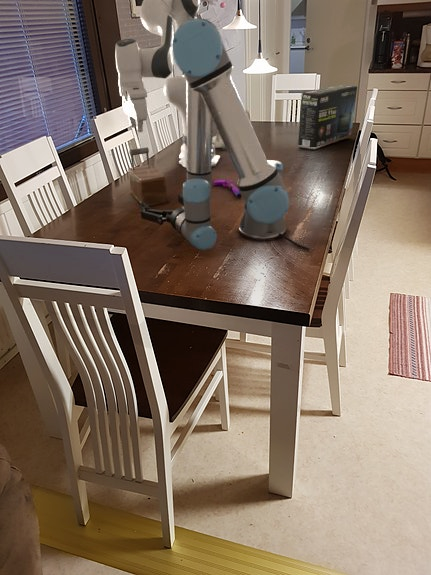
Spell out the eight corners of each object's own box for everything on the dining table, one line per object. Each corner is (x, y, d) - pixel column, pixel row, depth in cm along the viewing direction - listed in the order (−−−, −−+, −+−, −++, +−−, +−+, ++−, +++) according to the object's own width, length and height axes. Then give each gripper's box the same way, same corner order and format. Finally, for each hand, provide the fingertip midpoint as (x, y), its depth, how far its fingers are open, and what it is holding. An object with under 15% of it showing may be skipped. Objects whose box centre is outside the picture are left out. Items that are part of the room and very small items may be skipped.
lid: (128, 170, 182) (125, 148, 178) (151, 167, 185) (148, 145, 181) (140, 183, 168) (137, 159, 164) (165, 178, 172) (163, 155, 167)
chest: (131, 193, 187) (128, 171, 182) (154, 189, 190) (151, 167, 185) (143, 207, 173) (140, 183, 168) (167, 202, 176) (165, 179, 172)
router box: (314, 151, 231) (318, 94, 217) (296, 148, 237) (299, 92, 224) (352, 138, 251) (358, 85, 238) (335, 135, 258) (340, 83, 245)
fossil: (227, 144, 234) (207, 125, 237) (216, 161, 241) (197, 143, 244) (244, 142, 248) (225, 124, 251) (234, 158, 254) (215, 141, 258)
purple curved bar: (213, 184, 193) (212, 179, 192) (230, 182, 194) (230, 177, 193) (223, 200, 176) (222, 195, 175) (242, 198, 177) (242, 193, 176)
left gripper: (116, 87, 174) (121, 125, 181) (130, 94, 158) (135, 135, 165) (132, 86, 176) (137, 123, 183) (148, 92, 160) (152, 133, 167)
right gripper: (149, 242, 141) (128, 219, 157) (221, 225, 150) (194, 205, 167) (146, 219, 137) (125, 198, 153) (220, 203, 146) (193, 185, 163)
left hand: (136, 129), depth 174 cm, fingers open, 8 cm apart
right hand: (161, 201), depth 160 cm, fingers open, 13 cm apart
